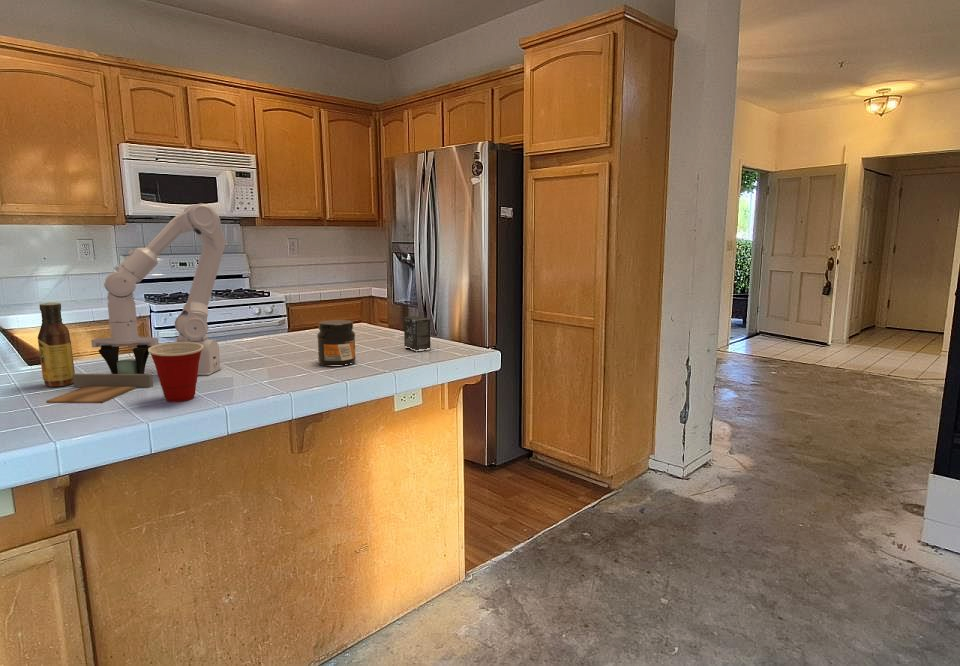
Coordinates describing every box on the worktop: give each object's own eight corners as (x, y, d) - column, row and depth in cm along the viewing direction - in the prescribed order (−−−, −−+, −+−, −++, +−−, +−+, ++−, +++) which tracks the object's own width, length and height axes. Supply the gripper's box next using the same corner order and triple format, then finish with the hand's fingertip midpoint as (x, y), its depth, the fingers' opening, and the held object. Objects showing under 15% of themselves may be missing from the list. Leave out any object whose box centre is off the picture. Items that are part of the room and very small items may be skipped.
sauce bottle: (48, 382, 138) (39, 302, 134) (79, 380, 140) (70, 301, 137) (39, 389, 132) (29, 305, 128) (71, 387, 134) (61, 304, 131)
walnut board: (135, 388, 133) (135, 386, 133) (102, 402, 121) (102, 401, 121) (84, 388, 133) (84, 386, 133) (46, 402, 121) (46, 400, 121)
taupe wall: (153, 386, 135) (152, 374, 135) (150, 387, 134) (149, 375, 134) (77, 385, 135) (76, 373, 135) (74, 387, 134) (72, 374, 133)
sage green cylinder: (142, 378, 143) (141, 359, 142) (132, 382, 138) (130, 363, 138) (125, 378, 143) (123, 359, 142) (114, 382, 138) (112, 362, 137)
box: (403, 348, 184) (403, 316, 183) (419, 346, 188) (418, 315, 186) (415, 352, 178) (415, 319, 176) (431, 350, 181) (430, 318, 180)
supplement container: (351, 367, 156) (349, 325, 155) (313, 367, 157) (311, 324, 155) (359, 359, 167) (358, 319, 165) (324, 359, 167) (323, 319, 165)
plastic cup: (157, 409, 117) (152, 352, 115) (148, 397, 126) (143, 345, 124) (213, 400, 124) (209, 346, 122) (200, 389, 132) (196, 339, 130)
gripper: (161, 318, 143) (166, 370, 145) (100, 319, 141) (105, 371, 143) (149, 322, 136) (154, 377, 138) (84, 323, 134) (90, 378, 136)
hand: (128, 374), depth 140 cm, fingers open, 5 cm apart
